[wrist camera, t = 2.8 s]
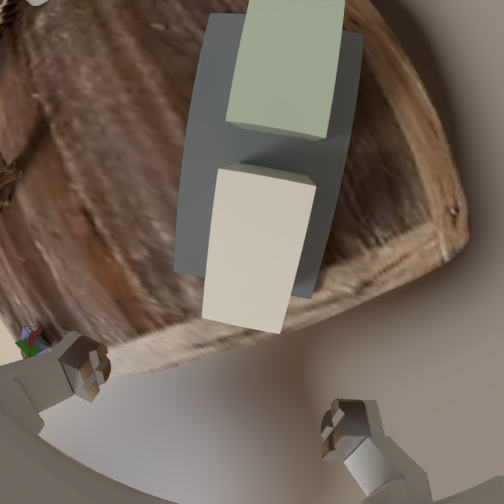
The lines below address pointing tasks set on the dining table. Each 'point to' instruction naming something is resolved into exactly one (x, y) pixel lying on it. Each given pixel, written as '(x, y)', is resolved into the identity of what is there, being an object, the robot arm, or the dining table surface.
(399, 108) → the dining table surface
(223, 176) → the beige eraser-shaped brick
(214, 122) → the slate board
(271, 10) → the pale green prism
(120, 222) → the dining table surface
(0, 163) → the lion figurine
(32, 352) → the geometric puzzle
